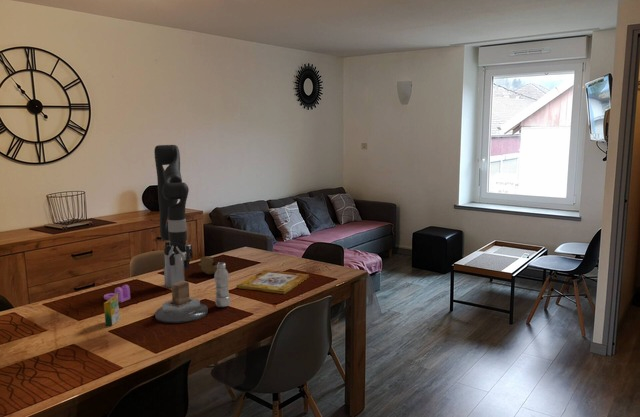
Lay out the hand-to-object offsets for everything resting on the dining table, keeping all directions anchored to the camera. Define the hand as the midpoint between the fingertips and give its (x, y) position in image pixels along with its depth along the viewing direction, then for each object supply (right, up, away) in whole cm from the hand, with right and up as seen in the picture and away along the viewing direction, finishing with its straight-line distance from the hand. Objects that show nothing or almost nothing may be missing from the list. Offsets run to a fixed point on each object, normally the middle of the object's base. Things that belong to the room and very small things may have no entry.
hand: (179, 266), depth 211 cm
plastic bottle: (+16, -20, +12) cm, 28 cm away
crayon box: (-26, -23, -6) cm, 35 cm away
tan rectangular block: (0, -19, +3) cm, 20 cm away
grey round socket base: (0, -21, +3) cm, 21 cm away
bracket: (-37, -18, +24) cm, 48 cm away
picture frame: (+36, -15, +48) cm, 61 cm away
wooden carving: (-1, -12, +65) cm, 66 cm away
